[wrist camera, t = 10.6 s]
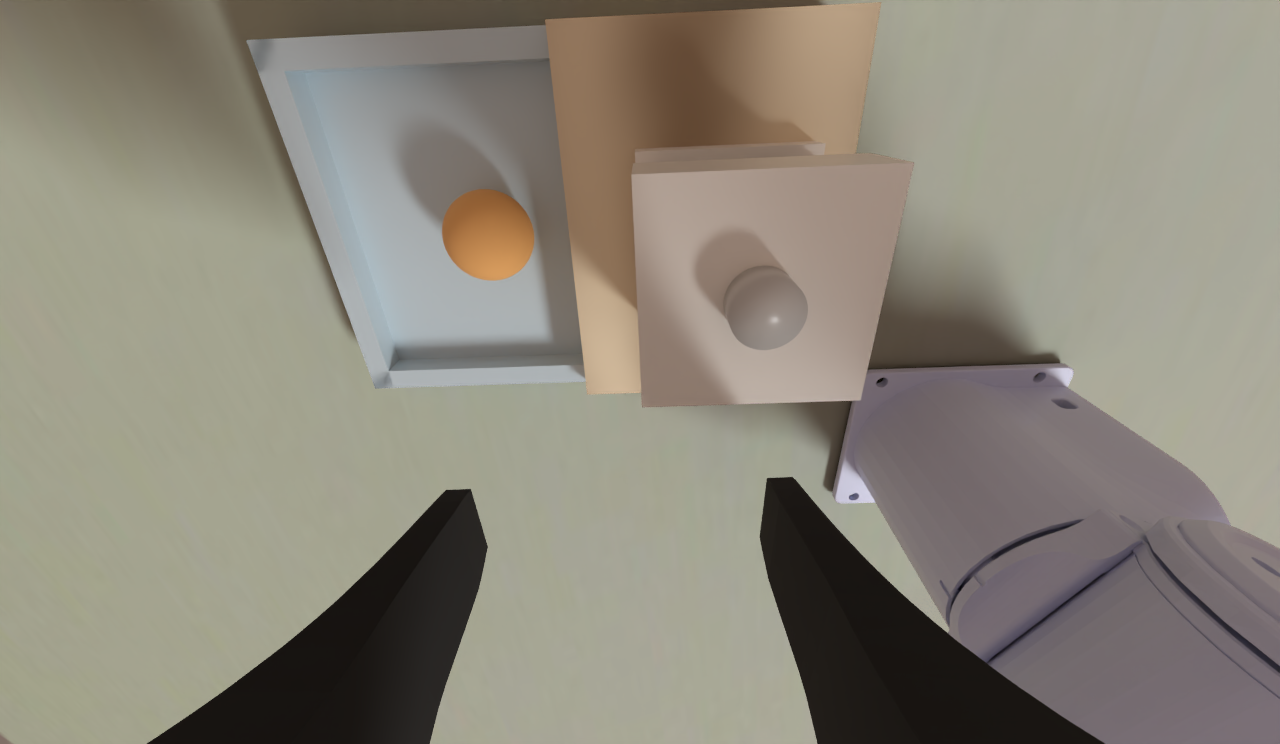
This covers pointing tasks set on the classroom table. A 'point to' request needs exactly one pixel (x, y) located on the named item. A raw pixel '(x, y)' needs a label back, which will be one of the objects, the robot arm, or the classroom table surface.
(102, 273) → the classroom table surface
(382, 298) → the tray
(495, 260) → the ball
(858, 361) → the small drawer with knob
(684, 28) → the board
